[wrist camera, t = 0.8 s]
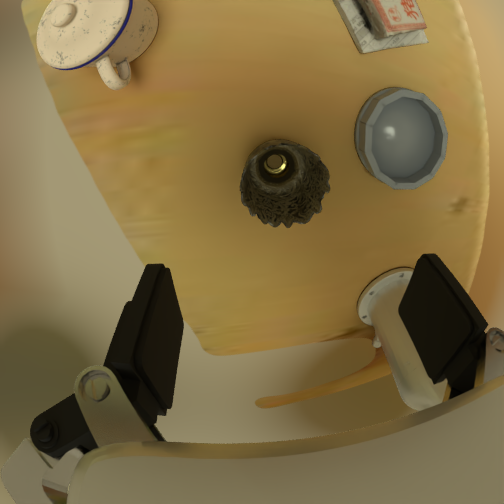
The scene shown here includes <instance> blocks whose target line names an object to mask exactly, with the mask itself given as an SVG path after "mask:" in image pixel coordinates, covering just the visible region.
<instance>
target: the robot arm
mask: <svg viewBox="0 0 504 504" xmlns="http://www.w3.org/2000/svg"><path fill="white" fill-rule="evenodd" d="M357 312H358V314H359V317H360V319H361V320H362V321H363V322H364V323H365V324H368V325H372V326H374V329H375V336H374V339H373V341H372V345H373V346H374V347H376V348H379V347H380V346H381V345H382V348H383V350H384V353H385V355H386V358H387V361H388V363H389V366H390V368H391V371H392V374H393V376H394V379H395V381H396V384H397V387H398V390H399V393H400V395H401V397H402V399H403V401H404V402H405V403H406V404H407V405H408V406H409V407H411V408H413V409H415V410H418V411H419V412H416V413H413V414H410V415H407V416H404V417H401V418H397V419H394V420H391V421H388V422H384V423H380V424H377V425H373V426H369V427H364V428H360V429H356V430H351V431H347V432H342V433H336V434H331V435H325V436H319V437H313V438H305V439H297V440H288V441H277V442H263V443H238V444H208V443H181V442H167V441H166V440H165V438H164V437H163V436H162V434H161V433H160V431H159V430H158V429H157V427H156V426H155V425H154V424H155V423H156V421H157V415H162V416H166V412H167V409H171V407H172V403H173V395H174V388H175V380H176V374H177V367H178V359H179V353H180V347H181V341H182V335H183V328H184V323H183V318H182V314H181V311H180V307H179V303H178V299H177V296H176V292H175V288H174V284H173V280H172V276H171V272H170V269H169V268H165V266H164V264H147V265H146V267H145V269H144V272H143V274H142V277H141V279H140V282H139V284H138V286H137V289H136V291H135V294H134V297H133V299H132V301H128V302H127V303H126V305H125V306H124V309H123V312H122V314H121V316H120V319H119V322H118V324H117V327H116V330H115V333H114V336H113V338H112V341H111V344H110V347H109V350H108V353H107V356H106V359H105V362H104V365H103V366H100V365H99V366H91V367H89V368H86V369H85V370H84V371H82V372H81V373H80V374H79V376H78V377H77V379H76V381H75V385H74V392H75V393H74V394H72V395H71V396H69V397H67V398H66V399H64V400H62V401H61V402H59V403H58V404H56V405H54V406H53V407H51V408H50V409H48V410H46V411H45V412H43V413H41V414H40V415H38V416H37V417H36V418H35V419H34V421H33V422H32V425H31V429H30V436H31V438H30V439H28V438H25V439H24V441H23V442H22V443H21V444H20V445H19V447H18V448H17V449H16V450H15V452H14V453H13V454H12V455H11V457H10V458H9V459H8V460H7V462H6V463H5V464H4V465H3V468H2V470H1V478H2V482H3V484H4V486H5V488H6V489H7V491H8V492H9V494H10V495H11V497H12V498H13V500H14V501H15V502H16V504H504V331H502V330H500V329H499V328H490V329H489V330H488V332H487V333H485V332H484V330H485V329H486V327H487V326H488V323H487V322H486V320H485V319H484V317H483V316H482V314H481V313H480V311H479V310H478V308H477V307H476V305H475V304H474V303H473V301H472V300H471V298H470V297H469V295H468V294H467V293H466V291H465V290H464V289H463V287H462V286H461V285H460V283H459V282H458V281H457V279H456V278H455V277H454V275H453V274H452V273H451V272H450V270H449V269H448V268H447V267H446V265H445V264H444V263H443V262H442V261H441V259H440V258H439V257H438V256H437V255H436V254H423V255H422V256H421V257H420V258H419V259H418V261H417V263H416V266H415V268H414V269H411V268H398V269H394V270H391V271H389V272H386V273H384V274H383V275H381V276H379V277H378V278H377V279H375V280H374V281H373V282H372V283H371V284H370V285H368V286H367V288H366V289H365V290H364V291H363V293H362V295H361V296H360V298H359V301H358V305H357ZM69 484H70V486H69ZM68 486H69V492H68V494H67V491H68Z"/></svg>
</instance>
